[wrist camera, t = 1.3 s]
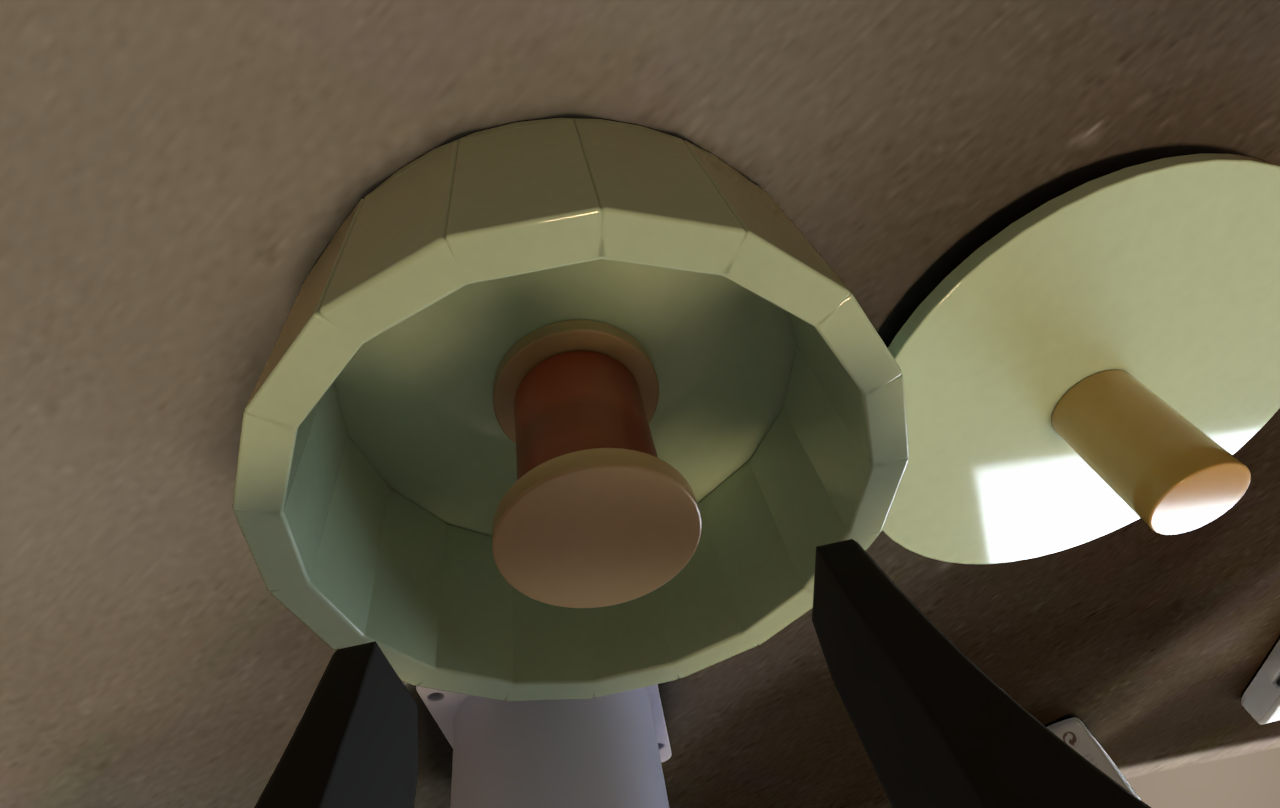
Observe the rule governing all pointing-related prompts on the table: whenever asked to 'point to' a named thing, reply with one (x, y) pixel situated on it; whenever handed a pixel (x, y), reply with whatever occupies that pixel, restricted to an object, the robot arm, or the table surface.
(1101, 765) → the cosmetic box
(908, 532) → the lid
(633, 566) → the spool
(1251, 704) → the hard drive
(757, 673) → the table surface
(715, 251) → the tin
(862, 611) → the robot arm
